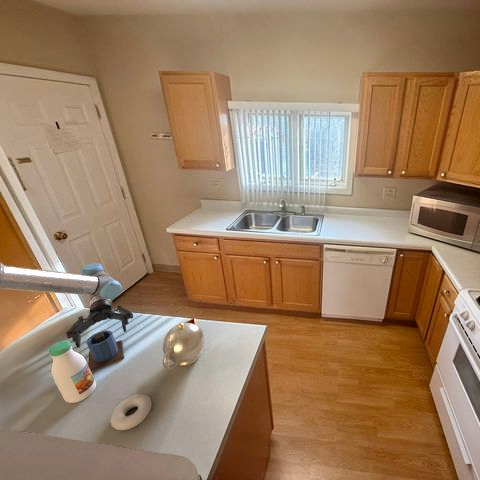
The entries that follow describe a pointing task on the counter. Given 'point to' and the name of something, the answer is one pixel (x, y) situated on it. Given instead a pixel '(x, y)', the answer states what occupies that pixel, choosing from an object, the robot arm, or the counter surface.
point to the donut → (128, 422)
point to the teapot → (183, 344)
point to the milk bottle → (71, 373)
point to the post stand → (117, 357)
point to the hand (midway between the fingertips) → (101, 336)
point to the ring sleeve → (102, 347)
